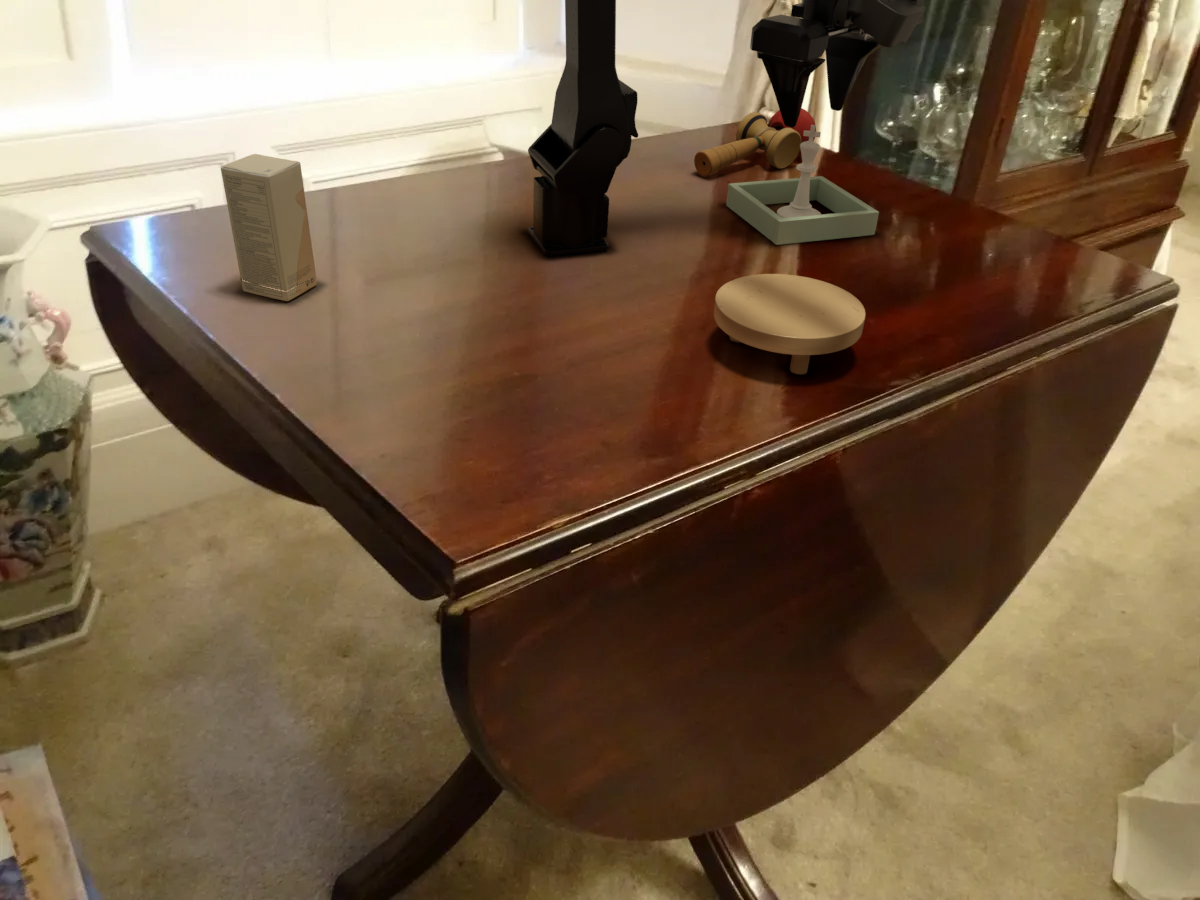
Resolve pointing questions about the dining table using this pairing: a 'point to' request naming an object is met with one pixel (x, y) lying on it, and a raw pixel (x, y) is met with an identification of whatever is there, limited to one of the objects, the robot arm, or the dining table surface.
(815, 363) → the dining table surface
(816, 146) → the chess piece
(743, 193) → the square frame
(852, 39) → the robot arm
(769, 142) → the kendama
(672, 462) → the dining table surface
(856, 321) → the stool
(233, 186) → the box
